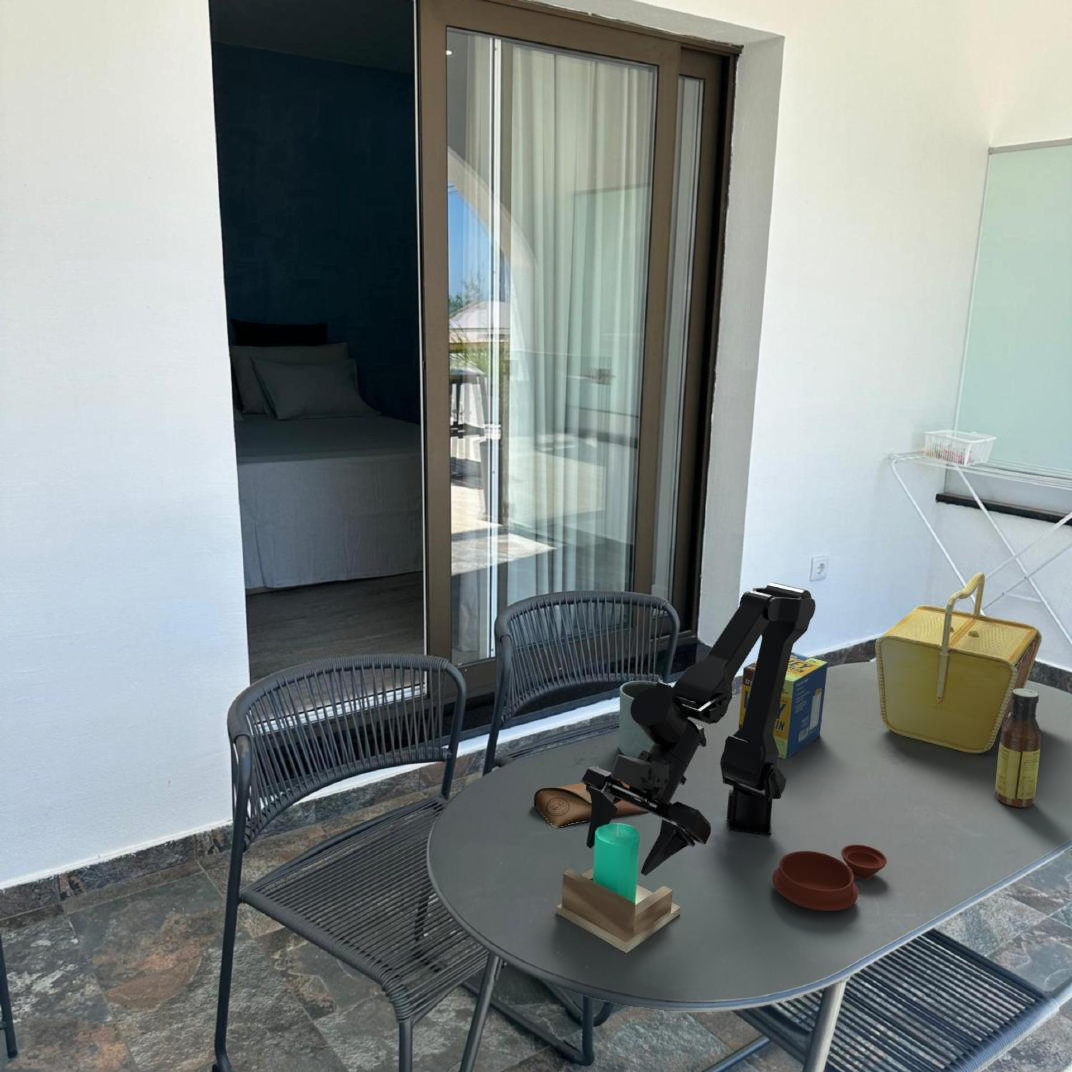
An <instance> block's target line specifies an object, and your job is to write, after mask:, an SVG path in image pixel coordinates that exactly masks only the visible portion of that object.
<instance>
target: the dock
mask: <svg viewBox="0 0 1072 1072" xmlns="http://www.w3.org/2000/svg"><path fill="white" fill-rule="evenodd" d="M673 893H674V891H673V889H671V888H669V887H667V886H666V885H662V886H661V887H659V888H658V889H657V890H655V891H654V892H652V891H650V890H649V889H646V888H644V887H643V886H640V885H639V884H637V887H636V903H634V902H632V901H630V900H628V899H627V898H625V897H623V896H621V895H619V894H617V893H615V892H613V891H611V890H609V889H608V888H606V887H604V886H602V885H600V884H598V883H596V882H594V881H593V867H592V868H590V869H589V870H587V871H586V872H584V873H582V874H581V873H579V872H577V871H576V870H573V869H572V868H570V869H568V870H566V871H565V872H563V874H562V891H561V903H560V904H558V905H556V909H555V912H556V914H557V915H559V916H561V917H563V918H565V919H566V920H568V921H570V922H571V923H573V924H575V925H577V926H579V927H580V928H582V929H583V930H586V931H587V932H589V933H591V934H592V935H594V936H596V937H598V938H599V939H601V940H603V941H604V942H607V943H608V944H610V945H612V946H613V947H615V948H617V949H618V950H620V951H623V952H624V953H625V954H628V953H629V952H630V951H631V950H633V949H635V948H636V947H637V946H638V945H640V944H641V943H643V942H644V941H646V940H647V939H648V938H649V937H651V936H652V935H653V934H655V933H656V932H657V931H658V930H660V929H661V928H662V927H664V926H665V925H667V924H668V923H669V922H671V921H673V920H674V919H675V918H676V917H677V916H679V915H680V914H681V908H682V907H681V906H680V905H678V904H675V903H673Z"/></svg>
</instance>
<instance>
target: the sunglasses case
mask: <svg viewBox="0 0 1072 1072" xmlns="http://www.w3.org/2000/svg"><path fill="white" fill-rule="evenodd" d="M618 780H619V779H618ZM619 781H620V782H621V783H622V784H623V785H624V786H625V787H627V788H629V787H630V786H629V785H627V784H625V783H624V782H623V781H622V780H619ZM635 799H636V798H635ZM636 800H638V799H636ZM638 801H640V800H638ZM640 802H641V801H640ZM614 805H615V806H616V807H617V808H618V810H617V812H616V813H615V815H614V817H613V818H617V817H622V816H623V817H624V816H628V815H630V814H631V815H636V814H635V813H639V814H640V813H641V814H646V813H649V812H648V811H645V810H643V809H641V808H639V807H636V806H634V805H632V804H630V803H627V802H625V801H623V800H621V801H620V802H618V803H615V804H614ZM533 806H534V808H535V809H536V808H537V809H536V810H537V811H538V810H539V811H540V812H541V813H542V815H543V816H545V818H547V820H548V821H549V822H550V823H552V825H555V826H557V827H560V828H562V827H561V826H564V827H566V826H565V825H568V824H571V823H576V822H582V821H587V822H589V821H588V820H590V818H591V808H592V802H591V797H590V794H589V793H588V792H587V791H586V785H585V784H584V783H583V782H581V783H575V784H573V783H572V784H569V785H568V784H567V785H562V786H555V787H554V786H550V787H542V788H540V789H537V790H536V791H535V793H534V797H533ZM539 811H538V812H539ZM540 812H539V813H540ZM541 813H540V814H541ZM542 815H541V816H542ZM543 816H542V817H543ZM616 816H617V817H616ZM545 818H544V819H545ZM547 820H546V821H547ZM548 821H547V822H548ZM549 822H548V823H549ZM550 823H549V824H550ZM582 823H583V822H582ZM552 825H551V826H552ZM568 826H569V825H568Z"/></svg>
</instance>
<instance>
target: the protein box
mask: <svg viewBox="0 0 1072 1072" xmlns="http://www.w3.org/2000/svg"><path fill="white" fill-rule="evenodd" d="M756 662H757V660H756V661H754V662H752V663H750V664H749V665H747V666H744V667H743V669H742V670H743V671H742V680H741V681H742V683H741V691H740V692H741V693H740V694H741V695H740V704H739V717H738V718H739V719H738V729H737V731H738V730H739V729H740V728H741V726H742V723H743V719H744V715H745V710H746V706H747V701H748V697H749V693H750V688H751V684H752V680H753V675H754V671H755V666H756ZM828 664H829V663H828V662H827V661H825V660H824V661H823V660H820V659H818V658H813V657H809V656H806V655H804V654H801V653H800V654H799V653H795V652H792V651H791V656H790V660H789V665H788V669H787V673H786V678H785V682H784V686H783V691H782V695H781V699H780V704H779V708H778V712H777V717H776V721H775V726H774V730H773V736H774V739H775V742H776V745H777V748H778V751H779V757H778V758H781V759H784V760H786V759H787V758H789V757H791V756H792V755H793V754H795V753H796V752H797V751H799V750H800V749H802V748H803V747H805V746H806V745H808V744H809V743H810V742H812V741H813V740H815V739H817V737H819V736H820V735H821V728H822V727H821V726H822V719H823V718H822V717H823V710H824V701H825V692H826V681H827V674H828V673H827V672H828Z"/></svg>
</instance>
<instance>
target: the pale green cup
mask: <svg viewBox="0 0 1072 1072" xmlns="http://www.w3.org/2000/svg"><path fill="white" fill-rule="evenodd" d="M656 684H657V682H656V681H650V680H633V681H631V680H630V681H628V682H624V683H623V684H621V686H619V717H618V718H619V720H618V723H619V724H618V725H619V726H618V727H619V734H620V735H619V737H618V738H619V739H618V740H619V744H618V746H619V751H620V753H622V754H623V756H628V757H632V758H636V759H637V758H638V756H639V755H640V753H641V752H642V751H643V750H644V751H647V752H648V751H649V749H650V747H651V745H652V744H653V741H651V740H650V739H649V737H648V736H647V735H646V734H645V733H644V731H643V730H642V729H641V728H640V727H639V726H638V724H637V723H636V722H635V721H634V720H633V718H632V716H631V711H630V709H631V704H632V701H633V699H634V698H635V697H636V696H638V695H639V694H640V693H641V692H643V691H645V690H647V689H650V688H655V686H656Z"/></svg>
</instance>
